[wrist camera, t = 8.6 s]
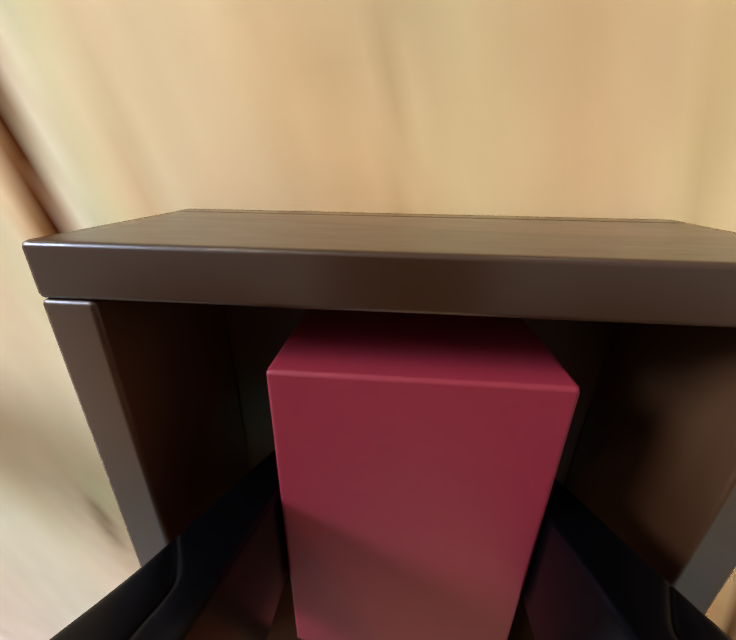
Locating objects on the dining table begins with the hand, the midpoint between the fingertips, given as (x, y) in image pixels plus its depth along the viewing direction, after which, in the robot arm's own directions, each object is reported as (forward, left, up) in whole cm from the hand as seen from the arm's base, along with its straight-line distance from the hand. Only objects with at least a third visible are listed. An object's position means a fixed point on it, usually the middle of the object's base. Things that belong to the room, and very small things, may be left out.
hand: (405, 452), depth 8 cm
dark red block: (0, 0, -1) cm, 1 cm away
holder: (0, 0, -2) cm, 2 cm away
